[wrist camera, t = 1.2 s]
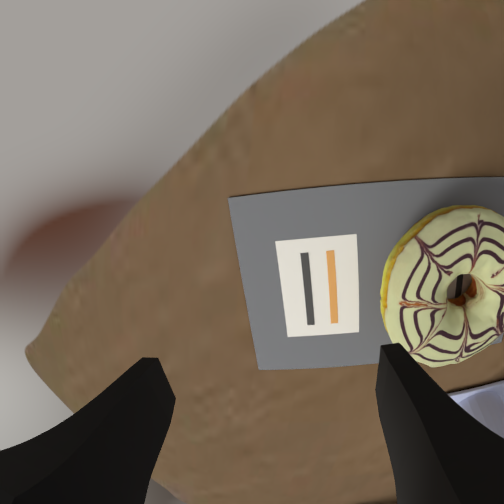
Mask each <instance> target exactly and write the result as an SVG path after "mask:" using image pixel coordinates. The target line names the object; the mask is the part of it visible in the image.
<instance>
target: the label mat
mask: <svg viewBox="0 0 504 504" xmlns="http://www.w3.org/2000/svg"><path fill="white" fill-rule="evenodd" d="M228 202H229V208H230V214H231V220H232V226H233V231H234V237H235V243H236V248H237V254H238V260H239V265H240V271H241V276H242V282H243V287H244V293H245V298H246V304H247V309H248V315H249V320H250V326H251V331H252V336H253V342H254V347H255V352H256V358H257V363H258V368H259V370H280V369H307V368H326V367H340V366H353V365H364V364H374V363H379V356H380V346H381V345H386V344H393V343H392V341H391V339H390V337H389V334H388V332H387V331H386V329H385V326H384V322H383V318H382V314H381V308H380V306H381V303H380V300H381V295H380V290H381V285H382V277H383V271H384V267H385V263H386V261H387V259H388V256H389V254H390V252H391V251H392V249H393V248H394V246H395V245H396V244H397V242H398V241H399V240H400V239H401V238H402V237H403V235H404V234H406V232H407V231H408V230H409V229H410V228H411V227H412V226H413V225H414V224H416V223H417V222H418V221H420V220H421V219H422V218H423V217H425V216H426V215H428V214H430V213H432V212H434V211H436V210H438V209H441V208H444V207H445V208H447V207H450V206H452V205H453V206H454V205H476V206H482V207H485V208H488V209H491V210H493V211H495V212H496V213H498V214H500V215H502V216H503V217H504V177H472V178H443V179H422V180H404V181H389V182H375V183H362V184H350V185H338V186H327V187H317V188H307V189H298V190H288V191H280V192H271V193H263V194H255V195H247V196H239V197H231V198H228ZM471 278H472V277H471V274H460V275H458V276H457V277H456V278H455V279H454V281H452V282H451V284H450V285H449V286H448V289H447V299H455V298H458V297H459V296H461V295H462V294H463V293H464V292H465V291H466V290H467V289H468V287H469V286H470V284H471V282H472V279H471ZM503 334H504V332H503V333H502V334H501V335H500V336H499V337H498V338H497V339H496V340H495V341H494V342H493V343H491V344H490V345H492V344H496V343H500V342H501V341H502V338H503Z"/></svg>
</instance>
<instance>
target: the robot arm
mask: <svg viewBox="0 0 504 504" xmlns="http://www.w3.org/2000/svg"><path fill="white" fill-rule="evenodd" d="M375 390H376V397H377V404H378V411H379V417H380V421H381V425H382V429H383V433H384V436H385V440H386V444H387V448H388V452H389V456H390V460H391V464H392V468H393V473H394V479H395V485H396V496H397V504H504V380H503V381H499V382H496V383H492V384H488V385H484V386H480V387H476V388H472V389H468V390H463V391H459V392H454V393H449V394H447V393H446V392H445V391H444V390H443V389H442V388H441V387H440V386H439V385H438V384H437V383H436V382H435V381H434V380H433V379H432V378H431V377H430V376H429V375H428V374H427V373H426V372H425V371H424V370H423V368H422V367H421V366H420V365H419V364H418V363H417V362H416V361H415V360H414V358H413V357H412V356H411V355H410V354H409V353H408V351H407V350H406V349H405V348H404V347H403V346H402V345H401V344H400V343H393V344H386V345H381V346H380V356H379V365H378V374H377V382H376V389H375ZM175 400H176V398H175V395H174V393H173V391H172V389H171V387H170V384H169V382H168V380H167V378H166V375H165V373H164V371H163V368H162V366H161V363H160V361H159V359H158V358H145V357H143V358H142V359H140V360H139V361H138V362H136V363H135V364H134V365H133V366H132V367H130V368H129V369H128V370H127V371H126V372H125V373H124V374H122V375H121V376H120V377H119V378H118V379H117V380H116V381H114V382H113V383H112V384H111V385H110V386H109V387H107V388H106V389H105V390H104V391H103V392H102V393H100V394H99V395H98V396H97V397H96V398H94V399H93V400H92V401H90V402H89V403H88V404H87V405H85V406H84V407H83V408H81V409H80V410H79V411H78V412H76V413H75V414H73V415H72V416H71V417H69V418H68V419H66V420H65V421H63V422H61V423H60V424H58V425H57V426H55V427H53V428H52V429H50V430H48V431H46V432H44V433H42V434H40V435H38V436H36V437H34V438H32V439H30V440H28V441H26V442H23V443H21V444H19V445H16V446H13V447H10V448H8V449H5V450H2V451H0V504H144V502H145V498H146V493H147V489H148V485H149V481H150V478H151V474H152V471H153V469H154V466H155V463H156V461H157V458H158V455H159V453H160V450H161V448H162V445H163V442H164V440H165V437H166V434H167V431H168V429H169V426H170V423H171V419H172V414H173V410H174V405H175Z"/></svg>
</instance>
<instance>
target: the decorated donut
mask: <svg viewBox="0 0 504 504" xmlns="http://www.w3.org/2000/svg"><path fill="white" fill-rule="evenodd" d="M460 274H471V277H472V278H471V279H472V282H471V284H470V286H469V287H468V289H467V290H466V291H465V292H464V293H463V294H462V295H461V296H459V297H458V298H455V299H447V289H448V286H449V285H450V284H451V282H452V281H454V279H455V278H456V277H457V276H458V275H460ZM380 295H381V300H380V303H381V306H380V308H381V314H382V318H383V322H384V326H385V329H386V331H387V332H388V334H389V337H390V339H391V341H392V343H400V344H401V345H402V346H403V347H404V348H405V349H406V350H407V351H408V353H409V354H410V355H411V356H412V357H413V358H414V360H415V361H417V362H421V363H423V364H426V365H428V366H430V367H439V366H444V365H447V364H456V363H459V362H462V361H464V360H465V359H467V358H469V357H471V356H473V355H474V354H476V353H478V352H480V351H482V350H483V349H485V348H486V347H487V346H489V345H490V344H491V343H493V342H494V341H495V340H496V339H497V338H498V337H499V336H500V335H501V334H502V333H503V332H504V217H503V216H502V215H500V214H498V213H496V212H495V211H493V210H491V209H488V208H485V207H482V206H476V205H454V206H453V205H452V206H450V207H447V208H445V207H444V208H441V209H438V210H436V211H434V212H432V213H430V214H428V215H426V216H425V217H423V218H422V219H421V220H420V221H418V222H417V223H416V224H414V225H413V226H412V227H411V228H410V229H409V230H408V231H407V232H406V234H404V235H403V237H402V238H401V239H400V240H399V241H398V242H397V244H396V245H395V246H394V248H393V249H392V251H391V252H390V254H389V256H388V259H387V261H386V263H385V267H384V271H383V277H382V285H381V290H380Z"/></svg>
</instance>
